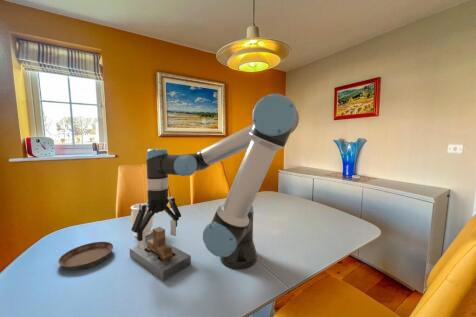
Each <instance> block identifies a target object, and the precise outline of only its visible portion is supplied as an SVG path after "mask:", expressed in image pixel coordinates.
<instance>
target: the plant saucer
mask: <svg viewBox="0 0 476 317" xmlns="http://www.w3.org/2000/svg"><path fill="white" fill-rule="evenodd" d="M113 249H114V245H113V243H111V242H109V241H96V242H90V243H85V244H83V245H80V246H76V247H75V248H72V249H70V250H68V251H66V252H65V253H64V254H62V255H61V256H60V257H59V258H58V260H57V261H58V264H59V265H60V266H61V267H62V268H64V269H67V270H70V271H71V270H72V271H73V270H74V271H77V270H83V269H86V268H90V267H93V266H95V265H97V264H100V263H102V262H103V261H105V259H107V258H108V257H109V256H110V254H111V253H112V251H113Z"/></svg>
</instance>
